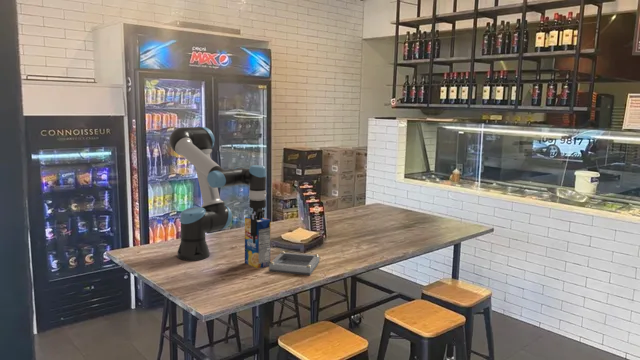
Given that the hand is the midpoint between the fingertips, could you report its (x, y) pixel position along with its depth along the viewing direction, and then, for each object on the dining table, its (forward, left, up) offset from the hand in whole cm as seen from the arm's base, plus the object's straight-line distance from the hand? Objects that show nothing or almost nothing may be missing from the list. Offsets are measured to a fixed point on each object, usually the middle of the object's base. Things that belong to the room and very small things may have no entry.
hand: (257, 247), depth 228 cm
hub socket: (+18, +2, -8) cm, 20 cm away
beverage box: (0, 0, -8) cm, 8 cm away
